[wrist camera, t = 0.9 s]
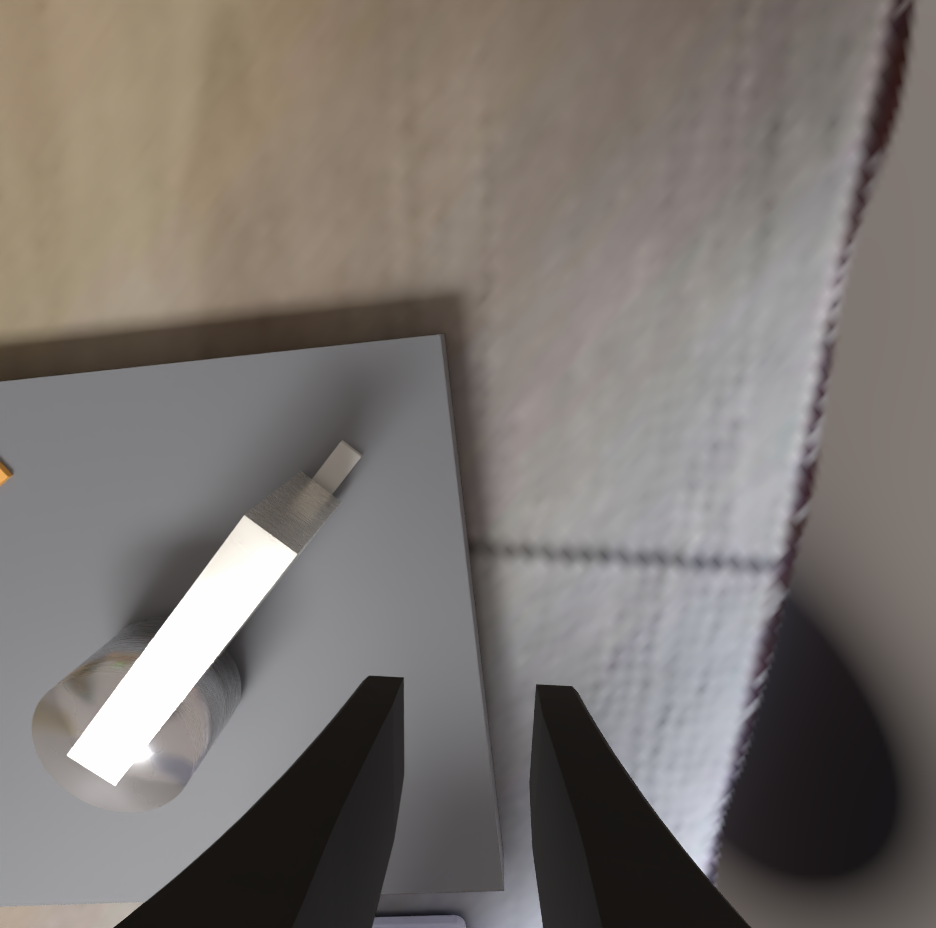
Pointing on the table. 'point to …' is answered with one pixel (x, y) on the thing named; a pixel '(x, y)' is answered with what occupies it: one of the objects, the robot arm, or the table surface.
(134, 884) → the panel
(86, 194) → the table surface
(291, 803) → the robot arm
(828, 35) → the table surface
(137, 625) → the lever handle
